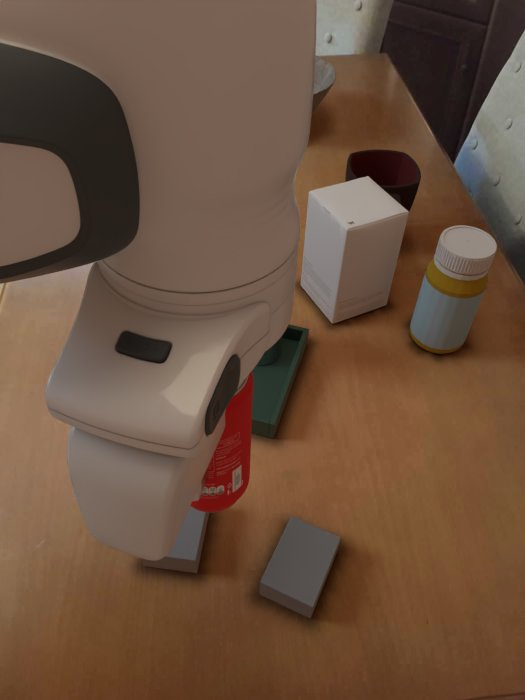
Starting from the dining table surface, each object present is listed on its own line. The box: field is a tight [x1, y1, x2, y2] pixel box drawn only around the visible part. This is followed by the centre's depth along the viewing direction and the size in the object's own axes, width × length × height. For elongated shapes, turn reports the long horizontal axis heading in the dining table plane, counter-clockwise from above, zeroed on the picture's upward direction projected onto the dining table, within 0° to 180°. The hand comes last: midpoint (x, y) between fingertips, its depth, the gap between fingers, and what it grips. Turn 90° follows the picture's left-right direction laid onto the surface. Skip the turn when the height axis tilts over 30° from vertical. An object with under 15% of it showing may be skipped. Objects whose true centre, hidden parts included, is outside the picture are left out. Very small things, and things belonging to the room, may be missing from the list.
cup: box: [344, 148, 422, 213], centre depth 85 cm, size 10×14×12 cm
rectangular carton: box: [300, 176, 410, 325], centre depth 76 cm, size 9×9×15 cm
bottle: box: [409, 224, 498, 355], centre depth 71 cm, size 7×7×15 cm
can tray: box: [251, 323, 310, 439], centre depth 71 cm, size 17×15×3 cm
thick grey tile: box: [141, 506, 210, 574], centre depth 56 cm, size 5×7×3 cm
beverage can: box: [191, 371, 253, 514], centre depth 37 cm, size 5×5×12 cm
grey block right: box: [258, 515, 342, 619], centre depth 54 cm, size 5×7×3 cm
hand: (209, 445), depth 38 cm, fingers closed on beverage can, 5 cm apart
